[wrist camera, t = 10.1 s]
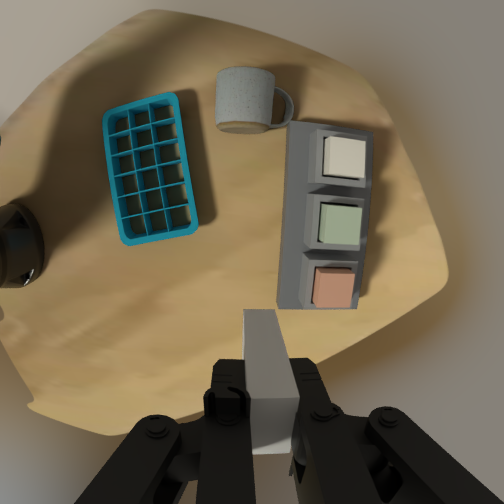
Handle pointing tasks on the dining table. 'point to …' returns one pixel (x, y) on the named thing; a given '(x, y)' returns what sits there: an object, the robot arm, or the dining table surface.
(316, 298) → the terracotta key
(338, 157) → the ivory key
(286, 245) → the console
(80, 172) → the dining table surface
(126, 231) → the ice cube tray
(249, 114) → the ceramic mug
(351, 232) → the sage key
